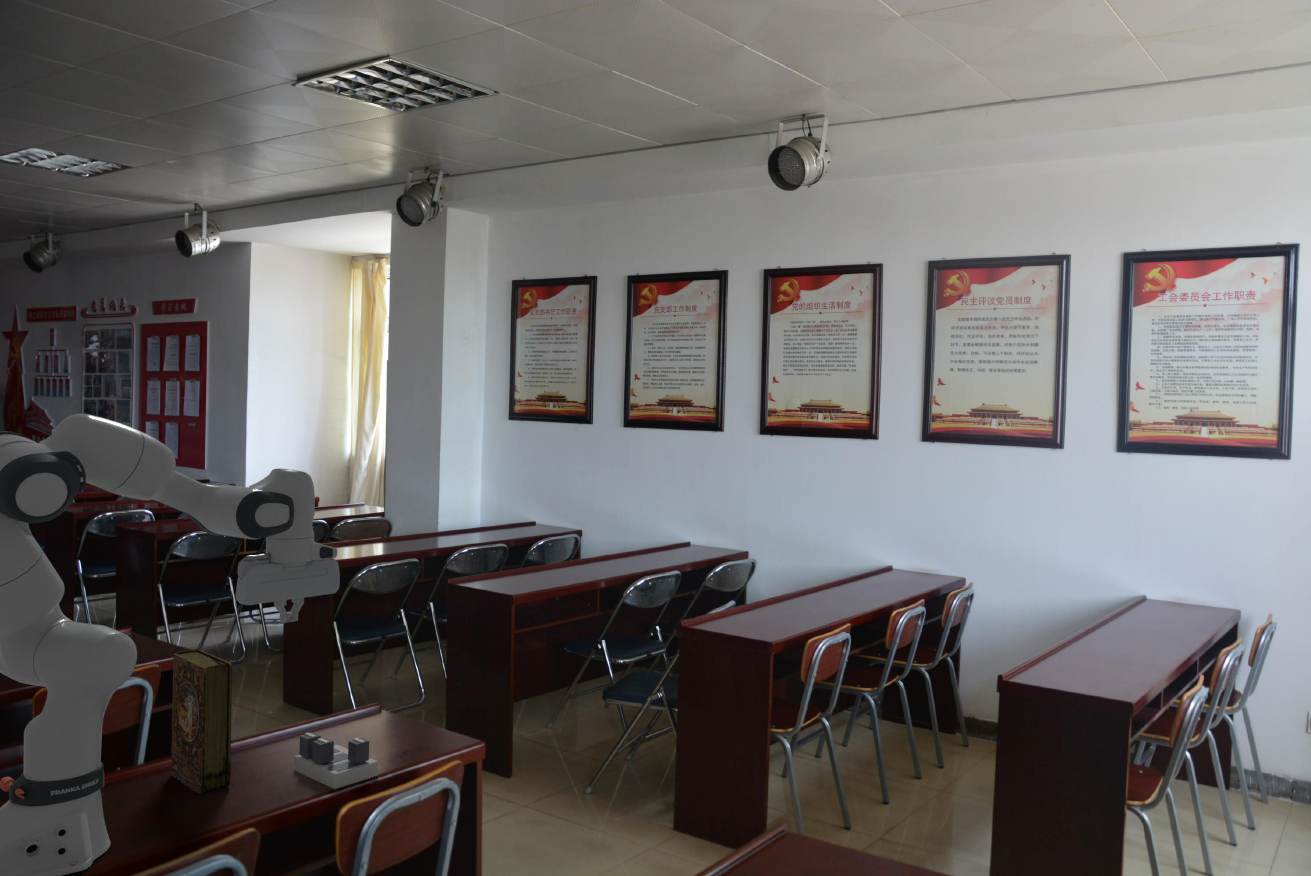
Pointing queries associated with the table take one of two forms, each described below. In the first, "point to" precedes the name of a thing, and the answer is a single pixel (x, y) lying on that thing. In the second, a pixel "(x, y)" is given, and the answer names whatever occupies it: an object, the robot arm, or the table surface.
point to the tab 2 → (358, 750)
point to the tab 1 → (307, 744)
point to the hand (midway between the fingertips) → (288, 621)
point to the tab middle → (323, 750)
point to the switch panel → (336, 769)
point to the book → (201, 720)
